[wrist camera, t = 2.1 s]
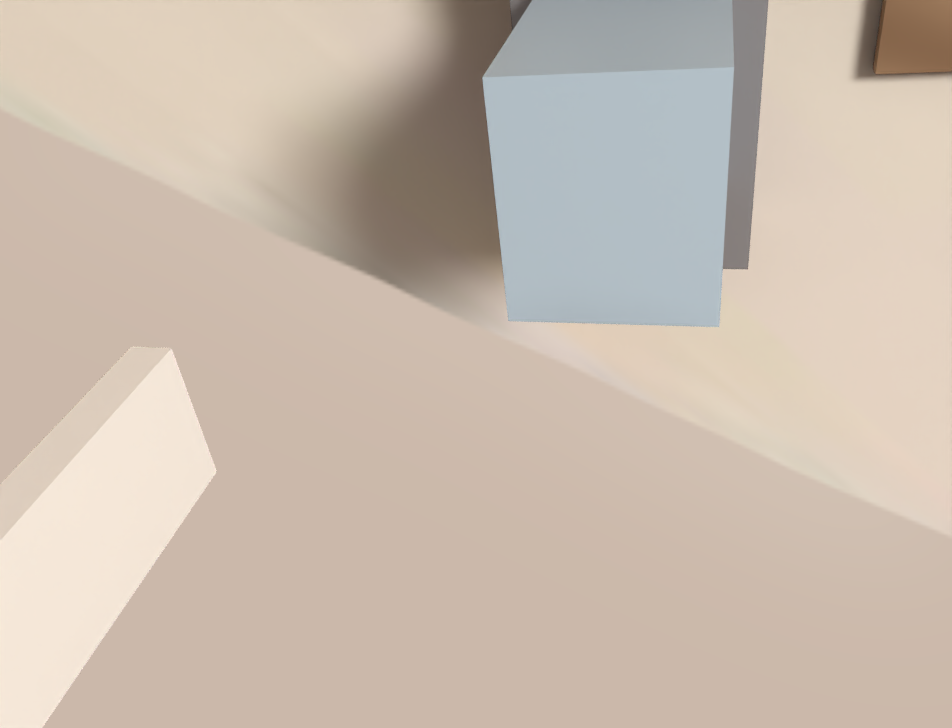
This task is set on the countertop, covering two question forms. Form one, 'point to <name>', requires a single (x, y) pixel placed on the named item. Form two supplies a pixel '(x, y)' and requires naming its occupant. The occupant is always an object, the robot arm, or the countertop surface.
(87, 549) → the robot arm
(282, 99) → the countertop surface
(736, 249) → the power strip
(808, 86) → the countertop surface
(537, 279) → the block
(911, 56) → the coaster
